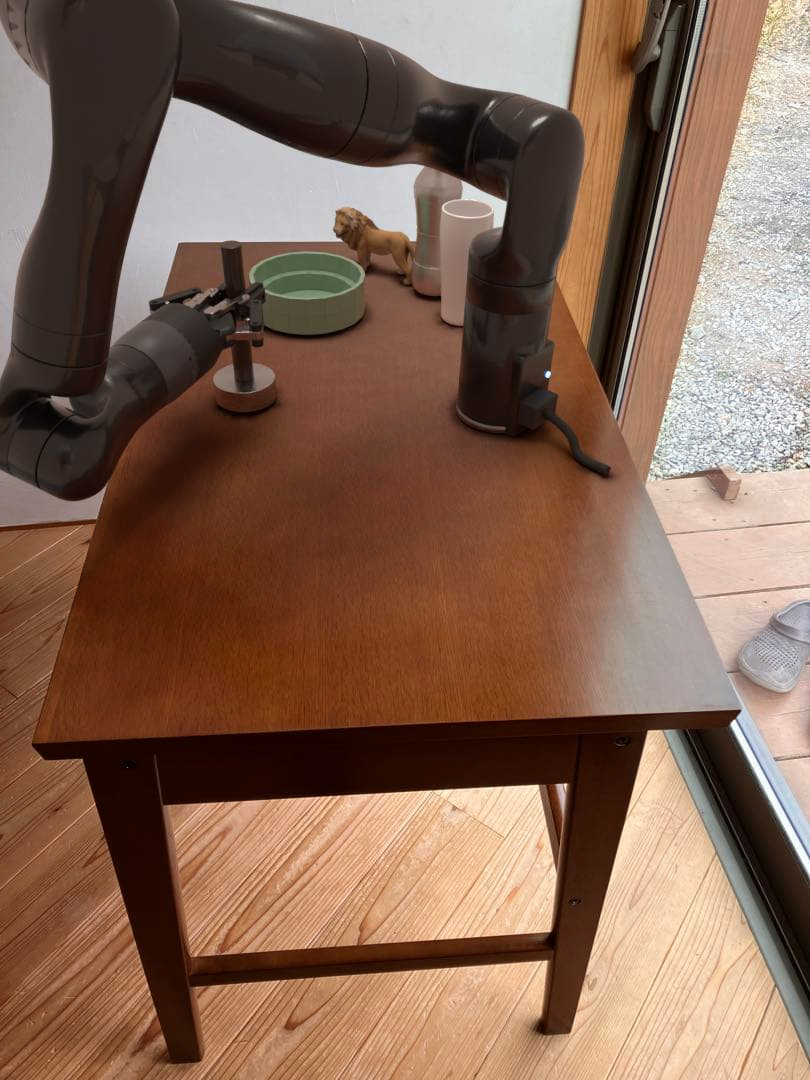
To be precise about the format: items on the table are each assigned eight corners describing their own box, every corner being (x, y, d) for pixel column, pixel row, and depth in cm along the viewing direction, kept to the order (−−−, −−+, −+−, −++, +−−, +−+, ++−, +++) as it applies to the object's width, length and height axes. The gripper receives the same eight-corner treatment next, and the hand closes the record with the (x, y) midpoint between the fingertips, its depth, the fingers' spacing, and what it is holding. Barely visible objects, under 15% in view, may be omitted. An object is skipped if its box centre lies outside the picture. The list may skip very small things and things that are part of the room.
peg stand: (289, 395, 103) (278, 244, 91) (243, 419, 99) (226, 263, 87) (248, 375, 106) (234, 226, 95) (202, 396, 102) (181, 244, 91)
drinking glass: (426, 322, 119) (431, 211, 110) (448, 303, 124) (455, 195, 114) (472, 334, 117) (481, 221, 107) (492, 314, 122) (503, 204, 112)
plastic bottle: (453, 304, 124) (463, 155, 111) (405, 298, 125) (410, 150, 112) (460, 285, 129) (470, 140, 116) (414, 280, 130) (420, 136, 117)
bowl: (387, 312, 121) (388, 273, 118) (307, 350, 113) (306, 310, 109) (309, 279, 129) (308, 242, 125) (229, 313, 120) (225, 274, 116)
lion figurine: (328, 272, 131) (326, 211, 125) (342, 259, 135) (341, 199, 129) (422, 289, 127) (424, 227, 122) (433, 275, 131) (436, 214, 126)
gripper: (221, 335, 80) (304, 265, 93) (92, 308, 84) (190, 244, 97) (229, 407, 85) (308, 331, 98) (108, 378, 89) (198, 308, 101)
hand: (249, 288), depth 97 cm, fingers closed on peg stand
